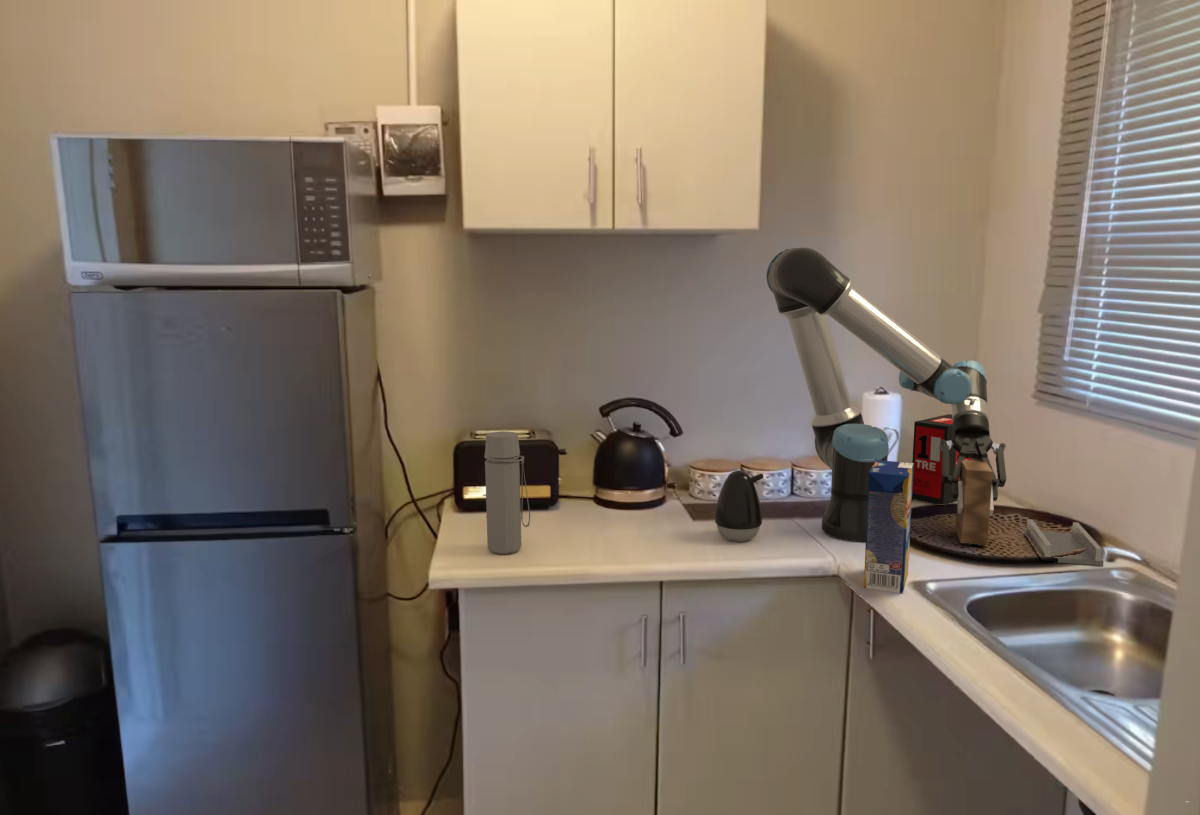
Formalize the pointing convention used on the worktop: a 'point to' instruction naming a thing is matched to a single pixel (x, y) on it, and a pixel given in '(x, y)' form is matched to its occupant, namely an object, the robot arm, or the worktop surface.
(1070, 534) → the floor track
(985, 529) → the brown wooden block
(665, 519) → the worktop surface
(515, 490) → the water bottle
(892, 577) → the beverage box
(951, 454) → the cleaning product box
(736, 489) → the pump dispenser
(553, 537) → the worktop surface
